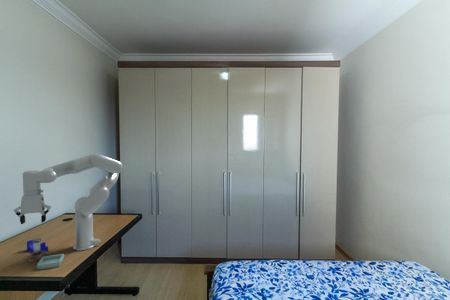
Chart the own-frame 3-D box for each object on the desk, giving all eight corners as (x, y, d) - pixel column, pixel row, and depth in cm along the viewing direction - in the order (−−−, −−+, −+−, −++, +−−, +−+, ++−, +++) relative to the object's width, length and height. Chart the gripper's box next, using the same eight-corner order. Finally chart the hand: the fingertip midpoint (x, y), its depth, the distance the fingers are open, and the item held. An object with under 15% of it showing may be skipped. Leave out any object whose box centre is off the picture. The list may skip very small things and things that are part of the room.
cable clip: (48, 251, 144) (48, 241, 144) (40, 254, 140) (40, 244, 140) (35, 248, 148) (34, 238, 148) (27, 251, 144) (26, 241, 144)
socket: (45, 255, 138) (45, 250, 138) (41, 260, 133) (41, 255, 133) (32, 257, 136) (32, 252, 136) (28, 262, 131) (28, 256, 131)
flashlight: (42, 256, 137) (42, 238, 137) (39, 259, 133) (39, 240, 133) (34, 257, 136) (34, 238, 135) (31, 260, 132) (31, 241, 132)
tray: (64, 257, 136) (64, 253, 136) (59, 266, 127) (59, 262, 127) (43, 260, 132) (43, 256, 132) (36, 270, 123) (36, 265, 123)
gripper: (52, 190, 139) (53, 218, 140) (17, 192, 134) (18, 221, 135) (47, 193, 132) (48, 223, 133) (9, 195, 127) (10, 226, 128)
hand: (33, 222), depth 134 cm, fingers open, 9 cm apart
